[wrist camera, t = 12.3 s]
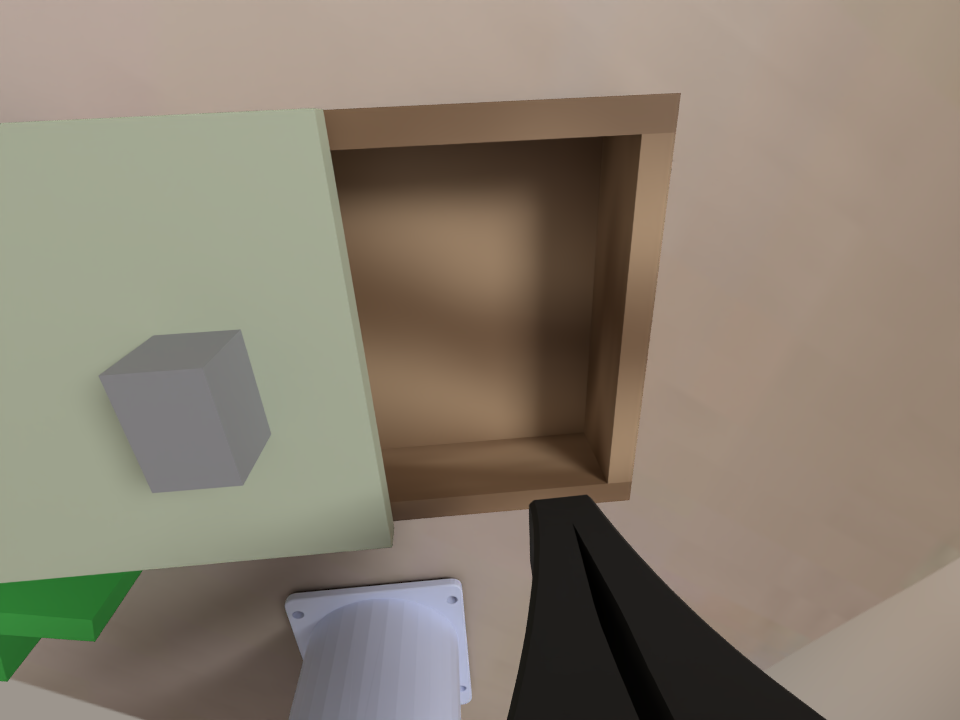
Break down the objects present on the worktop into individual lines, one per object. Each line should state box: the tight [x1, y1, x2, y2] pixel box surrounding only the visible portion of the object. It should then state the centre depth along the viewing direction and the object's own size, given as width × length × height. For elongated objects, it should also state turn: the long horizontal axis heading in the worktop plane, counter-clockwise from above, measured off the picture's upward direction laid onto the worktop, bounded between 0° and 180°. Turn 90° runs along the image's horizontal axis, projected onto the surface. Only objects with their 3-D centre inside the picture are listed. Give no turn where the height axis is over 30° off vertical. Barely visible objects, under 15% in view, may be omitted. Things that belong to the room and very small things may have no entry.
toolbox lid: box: [0, 108, 394, 583], centre depth 12 cm, size 12×18×6 cm, turn 93°
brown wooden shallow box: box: [323, 93, 681, 521], centre depth 14 cm, size 12×16×4 cm
